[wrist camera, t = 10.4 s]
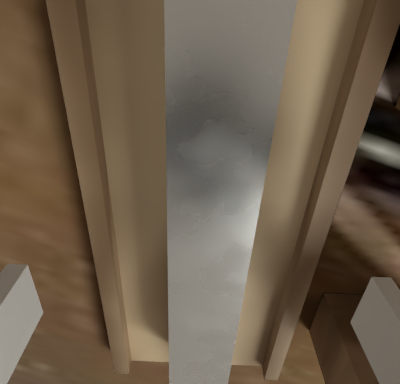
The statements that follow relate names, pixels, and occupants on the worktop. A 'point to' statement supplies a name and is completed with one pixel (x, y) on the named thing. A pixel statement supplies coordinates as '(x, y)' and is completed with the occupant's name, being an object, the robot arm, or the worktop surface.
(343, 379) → the cradle posts
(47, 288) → the worktop surface
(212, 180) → the rail
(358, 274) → the worktop surface
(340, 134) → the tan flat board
